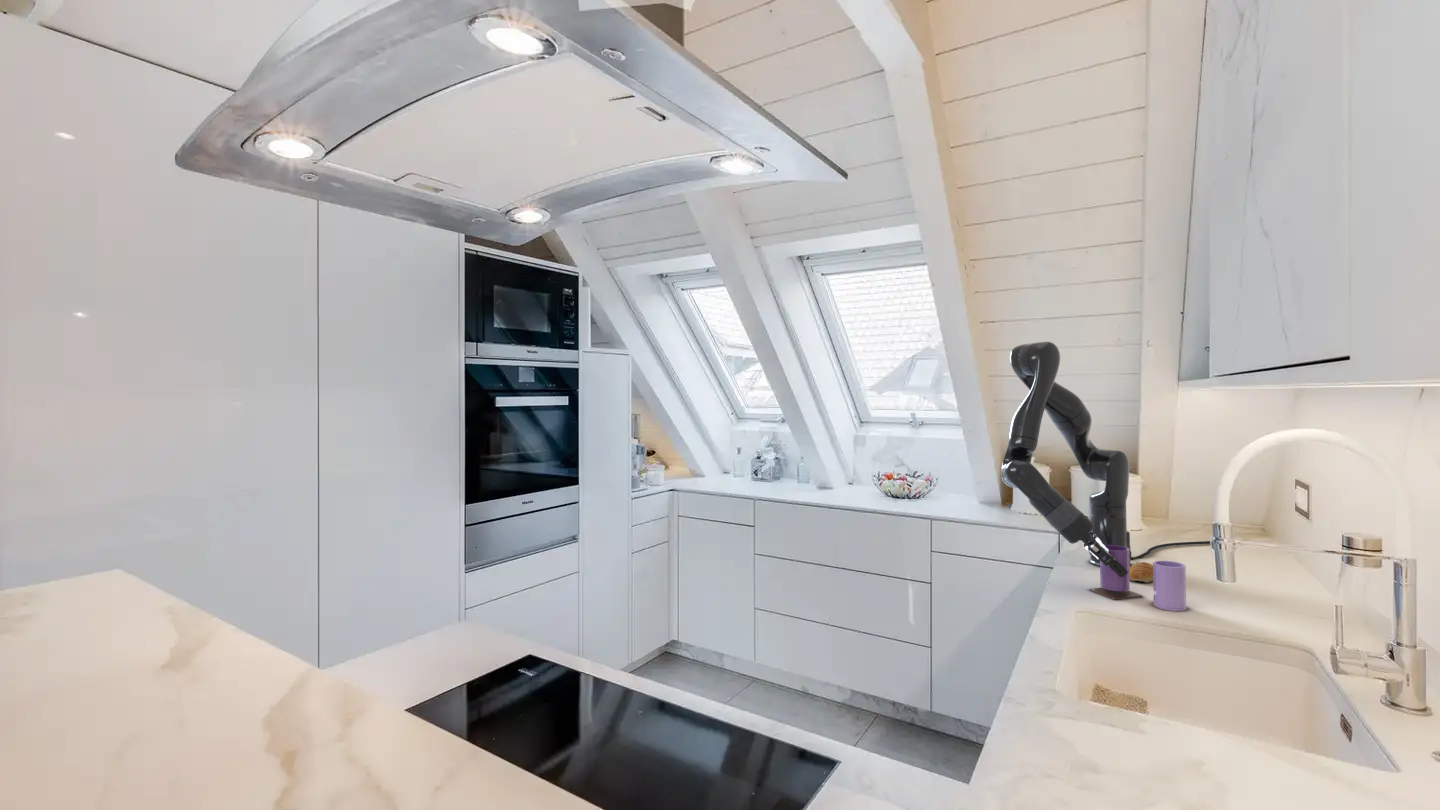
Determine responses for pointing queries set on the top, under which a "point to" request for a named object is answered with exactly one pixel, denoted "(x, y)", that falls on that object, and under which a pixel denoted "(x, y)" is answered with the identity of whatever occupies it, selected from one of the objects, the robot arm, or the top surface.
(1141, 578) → the pastry
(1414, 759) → the top surface
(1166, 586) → the lilac cup
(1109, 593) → the coaster
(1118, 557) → the plum cup
